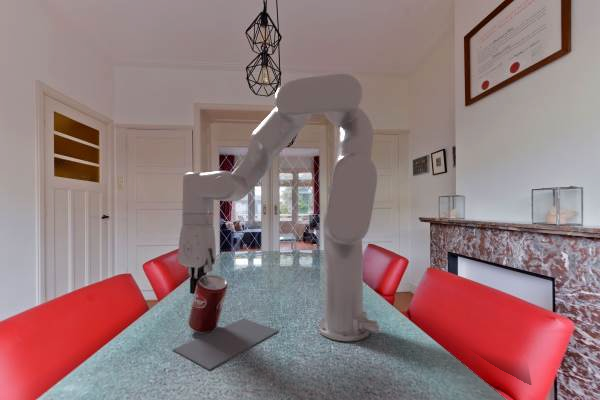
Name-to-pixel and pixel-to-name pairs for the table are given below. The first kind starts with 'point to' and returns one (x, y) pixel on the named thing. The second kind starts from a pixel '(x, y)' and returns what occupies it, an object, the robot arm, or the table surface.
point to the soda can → (207, 303)
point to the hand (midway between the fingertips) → (197, 292)
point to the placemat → (224, 343)
